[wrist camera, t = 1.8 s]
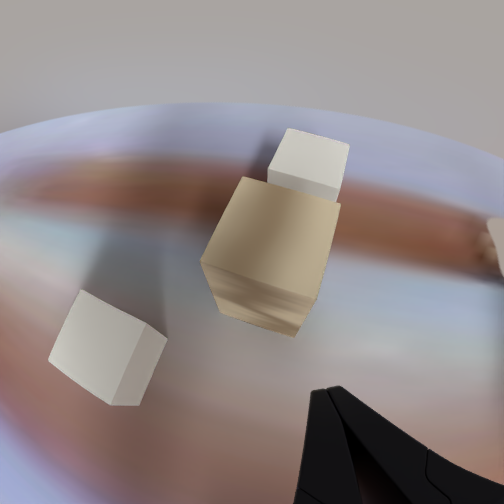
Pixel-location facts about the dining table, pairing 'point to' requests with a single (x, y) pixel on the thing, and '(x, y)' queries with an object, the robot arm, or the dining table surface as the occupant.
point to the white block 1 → (107, 351)
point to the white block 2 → (309, 164)
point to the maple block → (270, 255)
